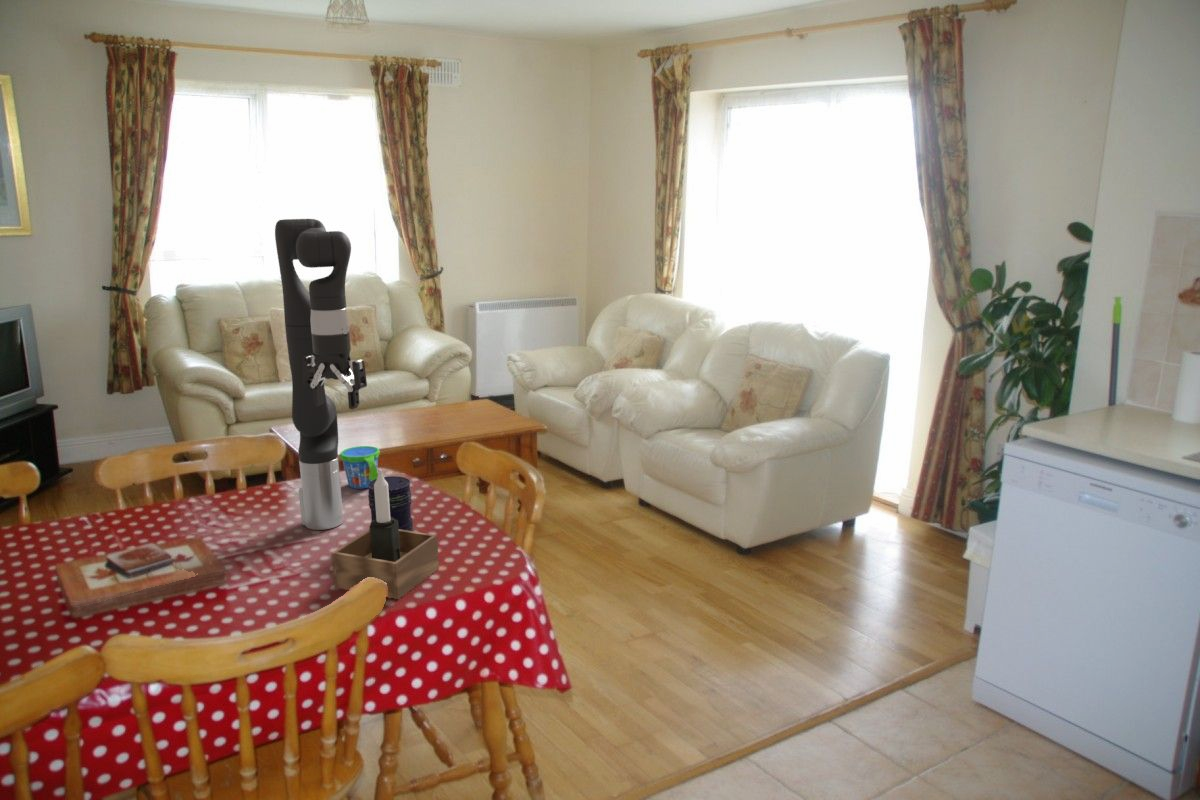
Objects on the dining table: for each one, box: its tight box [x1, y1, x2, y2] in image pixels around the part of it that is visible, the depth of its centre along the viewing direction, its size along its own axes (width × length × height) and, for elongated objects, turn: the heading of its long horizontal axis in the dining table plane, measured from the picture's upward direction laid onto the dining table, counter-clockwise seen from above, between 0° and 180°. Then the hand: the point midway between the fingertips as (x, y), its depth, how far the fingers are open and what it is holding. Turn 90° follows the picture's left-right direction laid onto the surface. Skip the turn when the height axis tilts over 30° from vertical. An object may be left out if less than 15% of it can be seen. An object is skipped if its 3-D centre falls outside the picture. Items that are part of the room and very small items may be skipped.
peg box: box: [331, 528, 440, 601], centre depth 195 cm, size 16×16×8 cm
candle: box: [369, 468, 400, 562], centre depth 193 cm, size 5×5×25 cm
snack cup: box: [339, 445, 381, 490], centre depth 252 cm, size 16×10×10 cm
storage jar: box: [367, 475, 415, 532], centre depth 213 cm, size 10×10×15 cm
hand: (336, 406), depth 189 cm, fingers open, 8 cm apart
